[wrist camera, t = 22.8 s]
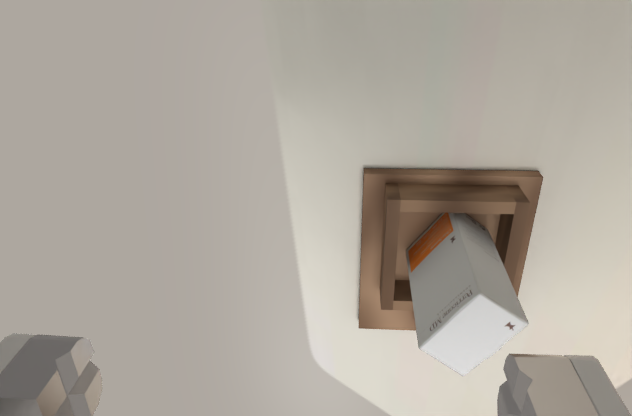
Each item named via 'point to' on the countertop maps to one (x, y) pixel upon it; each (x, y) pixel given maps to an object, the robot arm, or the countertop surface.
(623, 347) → the countertop surface
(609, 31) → the countertop surface
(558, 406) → the robot arm
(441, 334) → the skincare box
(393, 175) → the organiser tray
